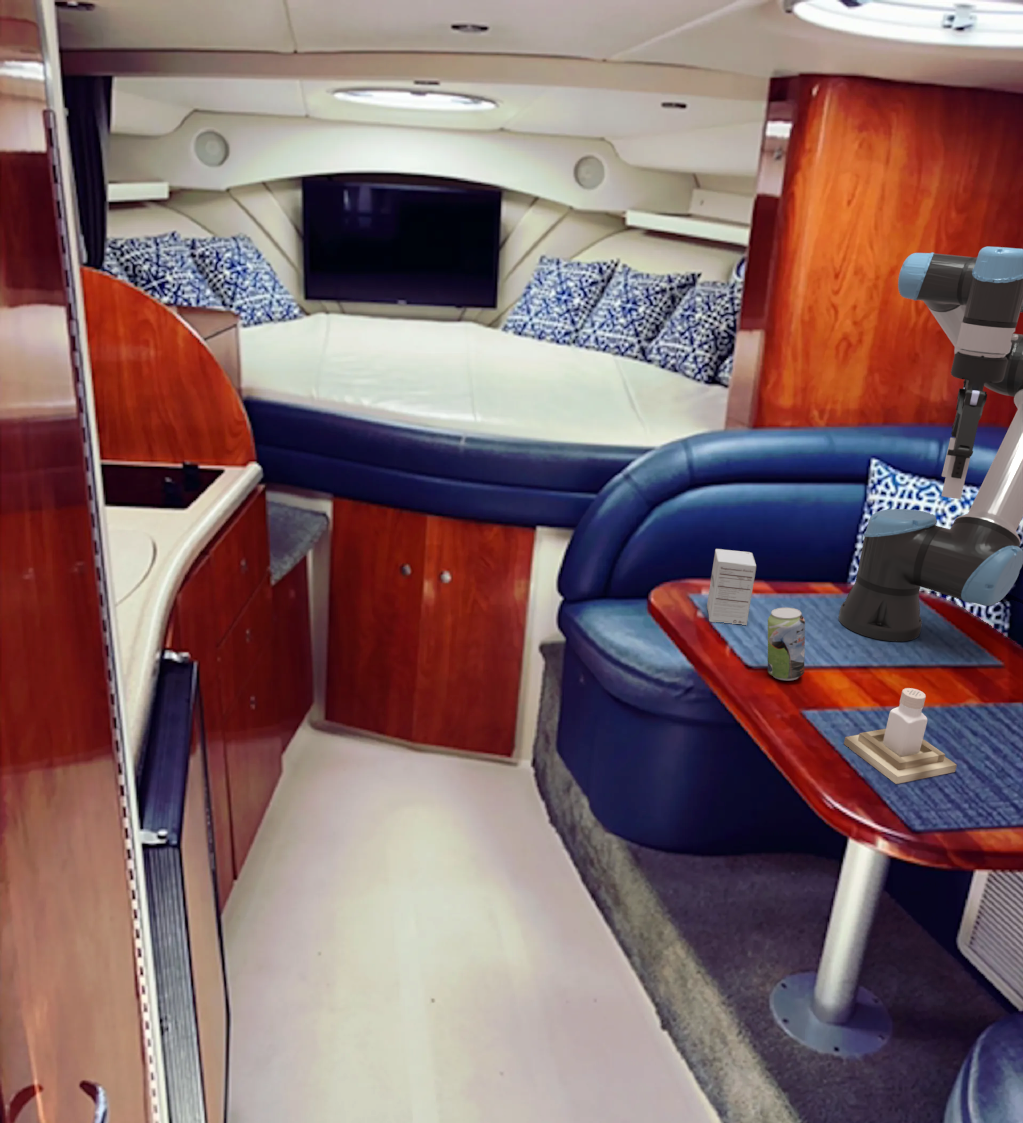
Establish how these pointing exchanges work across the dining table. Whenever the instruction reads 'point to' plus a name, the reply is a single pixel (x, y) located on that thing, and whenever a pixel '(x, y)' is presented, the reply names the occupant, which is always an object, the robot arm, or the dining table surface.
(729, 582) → the supplement box
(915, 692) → the pepper shaker
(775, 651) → the beverage can
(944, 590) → the robot arm
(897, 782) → the tray
